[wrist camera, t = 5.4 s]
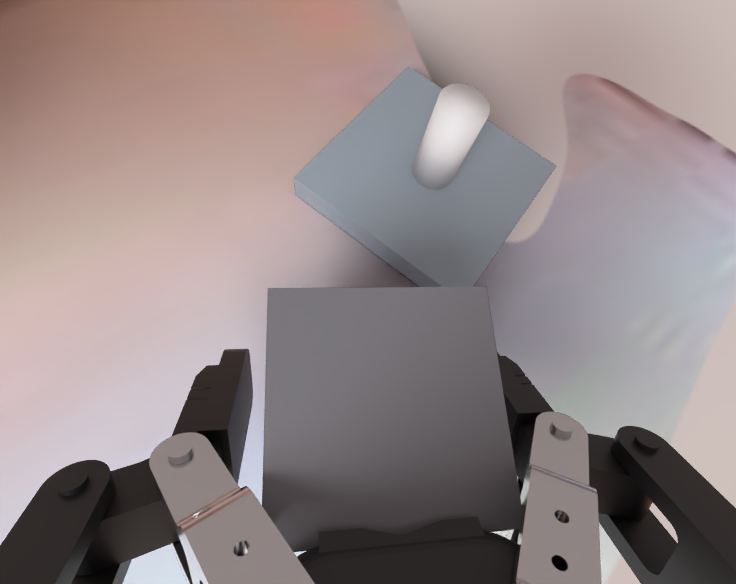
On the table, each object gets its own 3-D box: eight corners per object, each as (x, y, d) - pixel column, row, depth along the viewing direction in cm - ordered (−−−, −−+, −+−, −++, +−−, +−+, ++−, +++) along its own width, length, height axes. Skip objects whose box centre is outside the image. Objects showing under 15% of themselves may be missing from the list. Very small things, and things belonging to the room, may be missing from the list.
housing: (288, 486, 16) (261, 555, 7) (289, 358, 18) (267, 288, 9) (413, 476, 17) (525, 528, 8) (402, 355, 19) (485, 286, 10)
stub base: (295, 194, 21) (288, 106, 15) (403, 87, 24) (431, -18, 18) (451, 310, 20) (508, 262, 14) (541, 182, 23) (615, 102, 17)
